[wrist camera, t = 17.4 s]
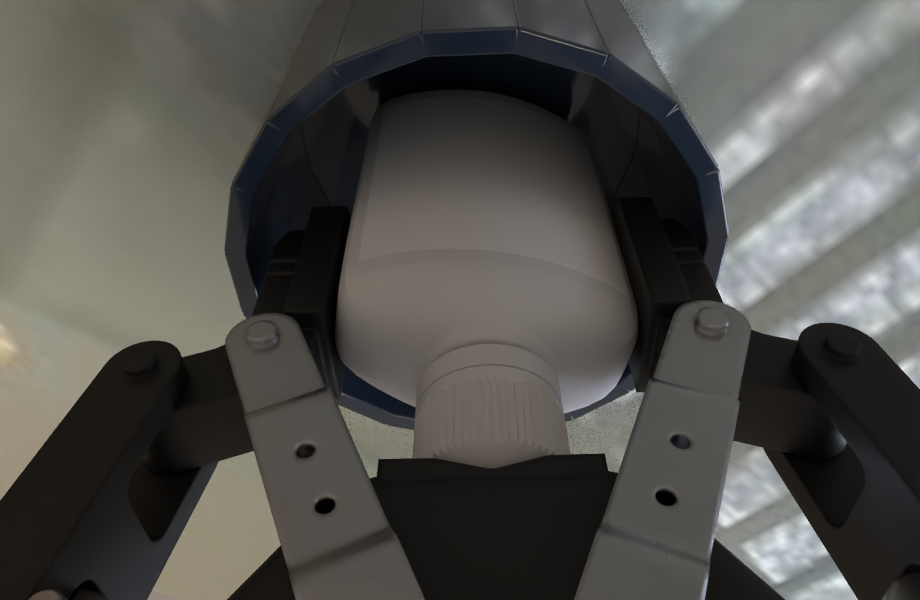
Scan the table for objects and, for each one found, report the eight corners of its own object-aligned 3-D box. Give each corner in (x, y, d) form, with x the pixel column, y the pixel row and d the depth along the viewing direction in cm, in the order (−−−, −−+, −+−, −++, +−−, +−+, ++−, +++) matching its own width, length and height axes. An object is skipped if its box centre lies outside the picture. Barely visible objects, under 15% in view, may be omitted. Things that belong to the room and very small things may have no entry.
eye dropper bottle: (444, 14, 17) (428, 404, 7) (612, 152, 19) (762, 581, 10) (341, 147, 19) (228, 578, 9) (502, 256, 21) (538, 689, 12)
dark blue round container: (253, -63, 17) (159, 41, 12) (677, -80, 17) (783, 17, 11) (320, 274, 23) (280, 441, 18) (628, 264, 23) (681, 430, 18)
